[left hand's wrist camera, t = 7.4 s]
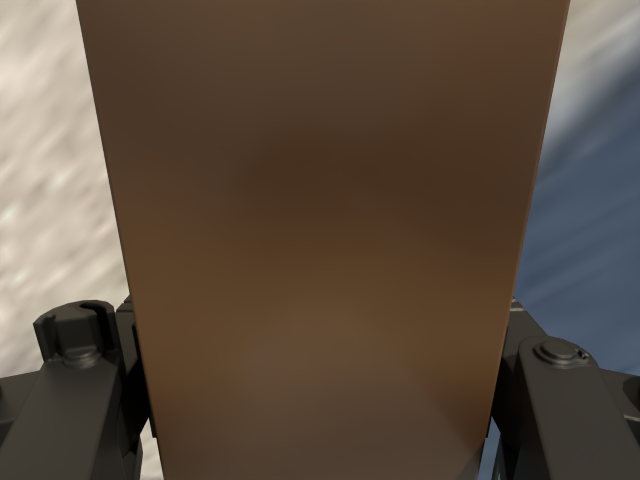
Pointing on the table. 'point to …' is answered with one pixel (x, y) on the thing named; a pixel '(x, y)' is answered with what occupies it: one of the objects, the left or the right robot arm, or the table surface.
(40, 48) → the table surface
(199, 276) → the board
